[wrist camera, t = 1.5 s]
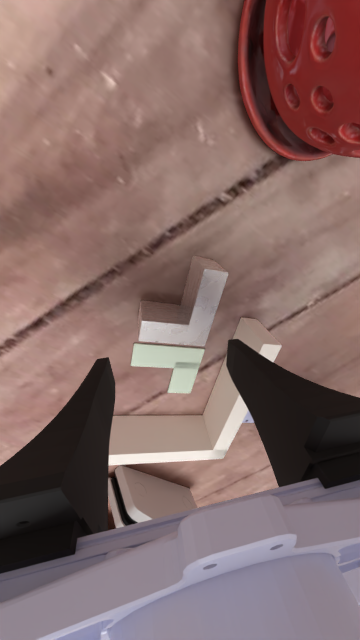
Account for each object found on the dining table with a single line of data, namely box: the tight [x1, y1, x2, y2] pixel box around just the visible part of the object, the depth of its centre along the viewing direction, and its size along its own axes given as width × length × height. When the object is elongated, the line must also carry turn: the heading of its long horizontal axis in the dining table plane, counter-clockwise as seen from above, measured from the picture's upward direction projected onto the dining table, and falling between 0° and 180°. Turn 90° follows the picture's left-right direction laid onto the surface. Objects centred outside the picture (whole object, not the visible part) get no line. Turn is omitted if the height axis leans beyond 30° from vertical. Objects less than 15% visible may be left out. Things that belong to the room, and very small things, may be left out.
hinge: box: [108, 465, 197, 528], centre depth 35 cm, size 17×5×10 cm, turn 43°
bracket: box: [138, 256, 229, 346], centre depth 20 cm, size 7×6×4 cm
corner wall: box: [109, 317, 282, 465], centre depth 25 cm, size 16×18×5 cm
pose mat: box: [131, 343, 205, 393], centre depth 26 cm, size 8×7×1 cm
